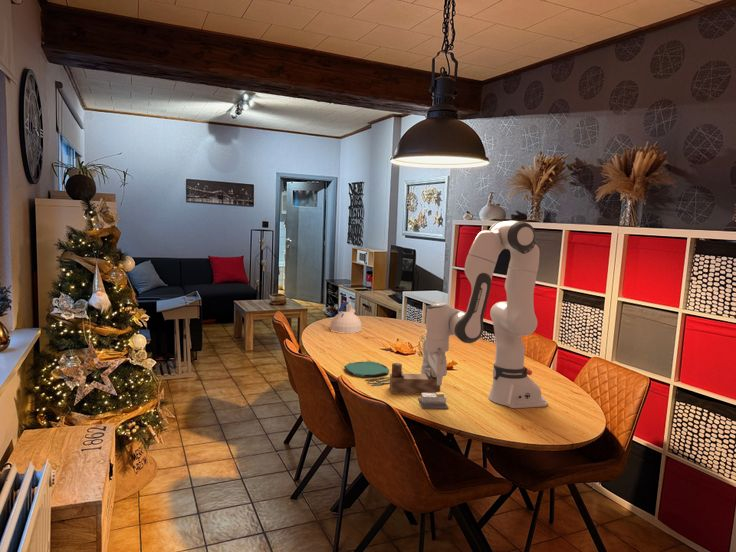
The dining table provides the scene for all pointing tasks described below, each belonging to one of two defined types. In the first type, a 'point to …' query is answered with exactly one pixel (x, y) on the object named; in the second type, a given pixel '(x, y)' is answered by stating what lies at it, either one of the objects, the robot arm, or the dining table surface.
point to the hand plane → (412, 381)
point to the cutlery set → (368, 371)
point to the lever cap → (433, 398)
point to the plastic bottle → (425, 361)
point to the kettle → (346, 321)
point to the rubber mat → (433, 406)
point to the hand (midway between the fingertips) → (436, 380)
